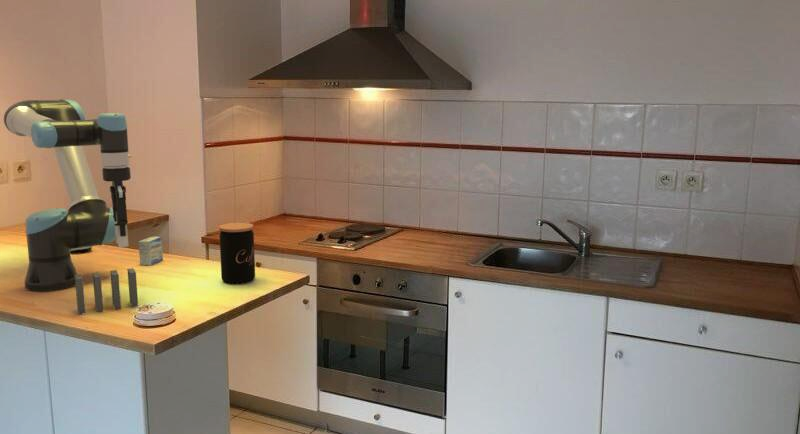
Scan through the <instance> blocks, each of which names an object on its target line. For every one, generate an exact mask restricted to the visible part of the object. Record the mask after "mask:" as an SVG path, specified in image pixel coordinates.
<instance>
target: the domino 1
mask: <svg viewBox="0 0 800 434" xmlns="http://www.w3.org/2000/svg"><path fill="white" fill-rule="evenodd" d="M74 286H75V294H76V296H75V297H76V304H77V305H76V306H77V312H79V313H78V315H84V314H83V313H85V314H86V307H85V306H86V305H85V294H84V280H83V276H82V274H81V273H78V275H75V285H74Z"/></svg>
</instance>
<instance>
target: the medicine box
mask: <svg viewBox="0 0 800 434" xmlns="http://www.w3.org/2000/svg"><path fill="white" fill-rule="evenodd" d="M162 243H163V242H162V236H150V237H147V238H144V239H141V240H139V241H138V243H137V244H138V255H139V265H140V266H149V265H152V266H154V265H155V263H156V264H158V263H160V262H162V261H163V260H164V259H163V258H164V257H163V244H162ZM157 262H158V263H157ZM153 264H154V265H153Z"/></svg>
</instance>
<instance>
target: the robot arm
mask: <svg viewBox="0 0 800 434" xmlns="http://www.w3.org/2000/svg"><path fill="white" fill-rule="evenodd" d="M3 124H4V125H5V127H6V129H7V130H8V131H9V132H10V133H12V134H14V135H16V136H18V137H29V138H31V142H32V143H33V145H34V146H35V148H37V149H52V148H53V150H54V154H55V156H56V160H57V164H58V166H59V170H60V173H61V176H62V179H63V182H64V186H65V189H66V192H67V195H68V199H69V202H70V206H69V207H68V209H67V210H68V211H67V210H66V208H62V207H60V208H57V207H56V208H50V209H44V210H43V209H42V210H40V211H37V212H34V213H31V214H30V215H28V216H27V218H26V219H25V232H24V233H25V234H26V244H27V253H28V254H27V256H28V267H27V270H26V275H25V278H24V288H25V289H26V290H28V291H32V292H51V291H52V292H53V291H58V290H59V291H60V290H64V289H68V288H71V287H74V286H76V285H75V275H78V274H79V273H78V271H77V269H76V267H75V265H74V262H73V261H72V258H71V253H70V249H76V248H82V247H89V246H92V247H96V246H103V245H106V244H111V243H113V242H114V241H115V244H116V245H118V248H121V247H123V248H128V247H129V246H130V245H129V234H128V232H129V231H128V223H129V222H128V214H127V213H128V212H127V211H128V210H127V201H126V200H127V196H126V194H127V188H126V186H125V185H124V184H123V181H124V182H125V181H129V180H131V167H129V166H130V158H132V155H131V154H129V140H128V139H129V138H128V123H127V118H126V115H125V114H124V113H123V112H122V113H120V112H118V113H116V112H112V113H108V112H107V113H99V114H98V116H97V118H93V119H92V118H91V119H86V116H85V113H84V110H83V109H82V106H81V105H80V104H79V103H78V102H77V101H75V100H72V99H49V100H48V99H45V100H44V99H43V100H42V99H41V100H40V99H38V100H34V99H33V100H32V99H30V100H29V99H28V100H22V101H18V102H15V103H13V104H12V105H10V106H9V107H7V109H6V110H5V112H4V114H3ZM86 146H88V147H89V146H99V147H100V159H101V160H100V161H101V166H102V167H103V168H102V169H101V171H102V180H103V181H104V182H111V185H110V186H109V192H110V196H111V197H110V198H111V203H112V207H111V206H109V207H108V206H107V202H106V200H104V199H103V198H101V197H99V194H98V191H97V188H96V185H95V182H94V179H93V175H92V172H91V170H90V166H89V162H88V160H87V156H86V154H85V151H84V147H86ZM116 215H117V220H116Z"/></svg>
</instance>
